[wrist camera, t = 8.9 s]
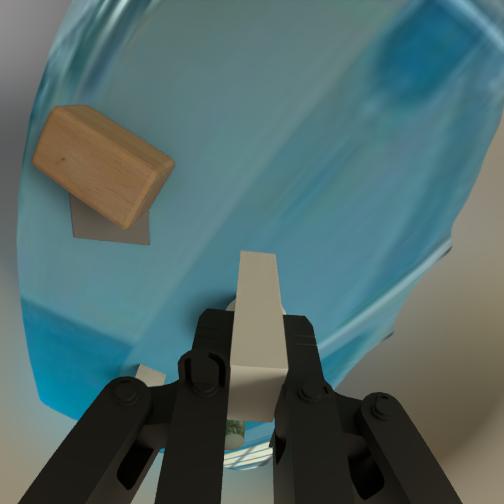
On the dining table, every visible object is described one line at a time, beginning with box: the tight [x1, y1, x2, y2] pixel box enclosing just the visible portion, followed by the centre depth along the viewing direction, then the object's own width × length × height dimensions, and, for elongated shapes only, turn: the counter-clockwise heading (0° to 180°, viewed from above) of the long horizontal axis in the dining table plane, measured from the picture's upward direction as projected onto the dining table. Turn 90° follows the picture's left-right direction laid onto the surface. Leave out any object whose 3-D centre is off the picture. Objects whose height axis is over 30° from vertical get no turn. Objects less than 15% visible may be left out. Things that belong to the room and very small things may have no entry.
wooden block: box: [32, 105, 175, 230], centre depth 39 cm, size 10×10×20 cm
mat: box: [69, 192, 150, 245], centre depth 47 cm, size 16×16×1 cm
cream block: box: [135, 364, 166, 387], centre depth 62 cm, size 4×7×10 cm, turn 62°
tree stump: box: [225, 419, 245, 450], centre depth 64 cm, size 18×20×18 cm
